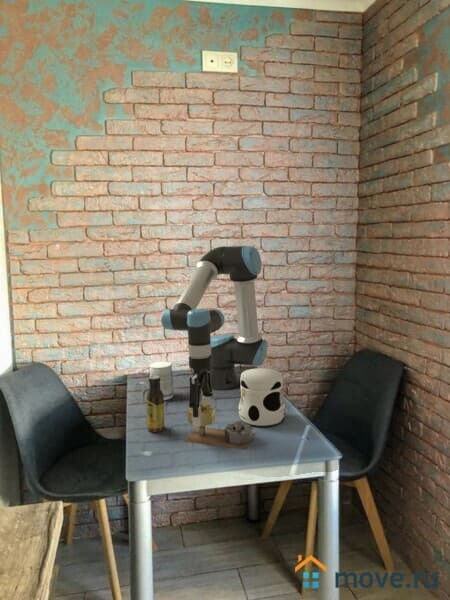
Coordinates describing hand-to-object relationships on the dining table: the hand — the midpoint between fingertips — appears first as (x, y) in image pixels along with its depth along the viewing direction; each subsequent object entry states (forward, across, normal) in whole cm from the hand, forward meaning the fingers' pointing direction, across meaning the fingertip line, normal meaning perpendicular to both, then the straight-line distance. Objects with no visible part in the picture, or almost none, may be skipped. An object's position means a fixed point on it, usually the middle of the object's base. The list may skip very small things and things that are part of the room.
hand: (201, 419), depth 156 cm
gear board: (+7, 0, +6) cm, 9 cm away
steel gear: (+6, 0, +13) cm, 14 cm away
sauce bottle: (+7, -2, -18) cm, 20 cm away
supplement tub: (+7, -32, -30) cm, 45 cm away
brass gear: (0, 0, 0) cm, 0 cm away
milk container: (+7, -19, +16) cm, 26 cm away
